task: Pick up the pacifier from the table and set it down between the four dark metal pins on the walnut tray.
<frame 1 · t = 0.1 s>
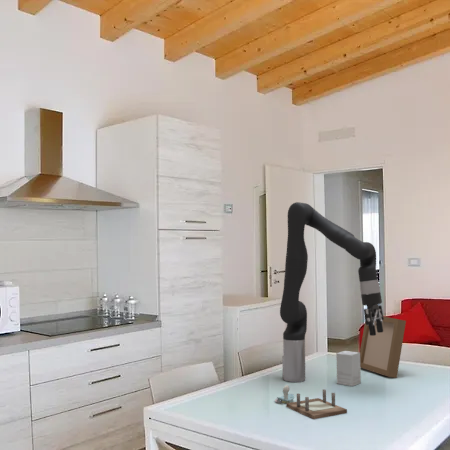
hand: (376, 333, 214), 22 cm above the table, tool pointing down, fingers open, 8 cm apart
pin tray: (316, 409, 191), on the table
pacifier: (283, 402, 201), on the table
photo frame: (385, 372, 247), on the table
supplement box: (348, 384, 227), on the table
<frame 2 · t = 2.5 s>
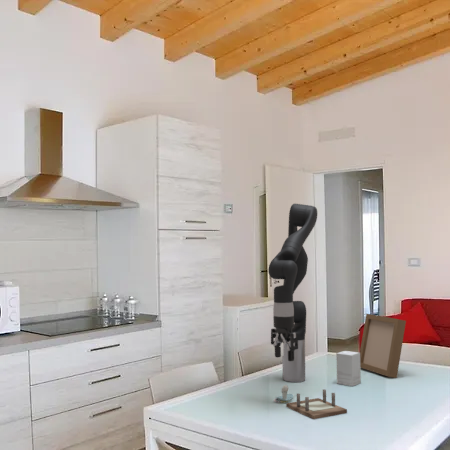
hand: (284, 359, 202), 15 cm above the table, tool pointing down, fingers open, 8 cm apart
nothing on the table moved.
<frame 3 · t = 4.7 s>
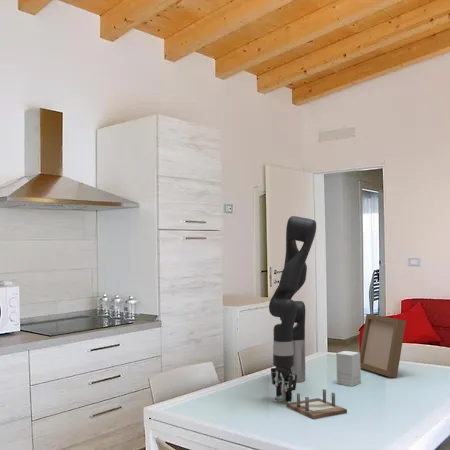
hand: (283, 399, 201), 1 cm above the table, tool pointing down, fingers closed on pacifier, 5 cm apart
pacifier: (282, 401, 202), on the table, touching gripper
everything else where it was.
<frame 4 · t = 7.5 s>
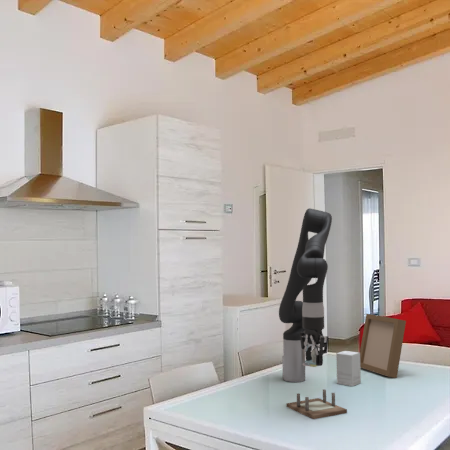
hand: (314, 363, 191), 16 cm above the table, tool pointing down, fingers closed on pacifier, 5 cm apart
pacifier: (312, 366, 192), point 15 cm above the table, touching gripper
everything else where it was.
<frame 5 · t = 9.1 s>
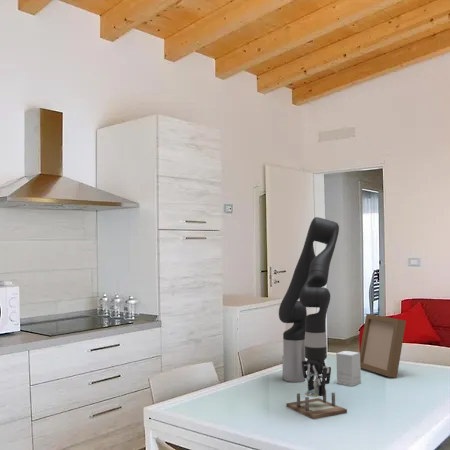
hand: (316, 393, 191), 6 cm above the table, tool pointing down, fingers closed on pacifier, 5 cm apart
pacifier: (314, 396, 191), point 5 cm above the table, touching gripper
everything else where it was.
when the fingers open (3 cm above the table, at t = 10.4 s): pacifier stays where it is, resting on pin tray.
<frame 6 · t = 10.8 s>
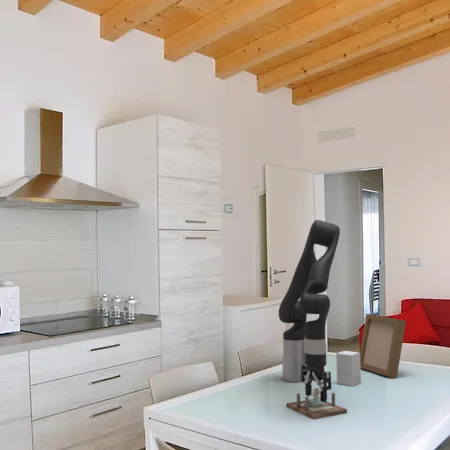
hand: (315, 398, 191), 4 cm above the table, tool pointing down, fingers open, 8 cm apart
pacifier: (313, 405, 191), point 1 cm above the table, touching pin tray
everything else where it was.
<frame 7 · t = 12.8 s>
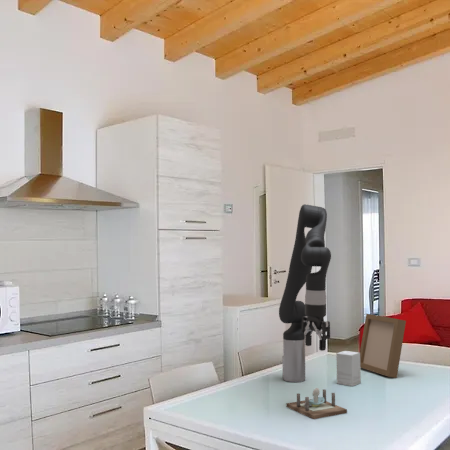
hand: (315, 347, 197), 20 cm above the table, tool pointing down, fingers open, 8 cm apart
nothing on the table moved.
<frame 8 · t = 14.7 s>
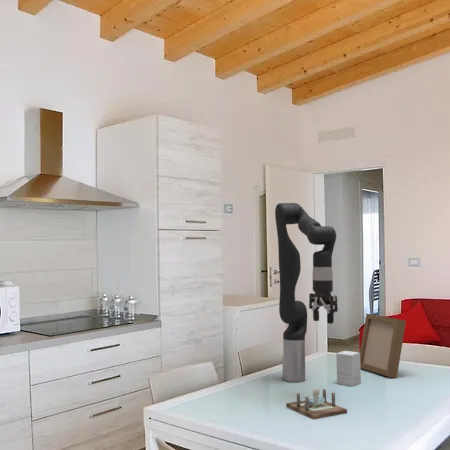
hand: (323, 322, 207), 28 cm above the table, tool pointing down, fingers open, 8 cm apart
nothing on the table moved.
at the end: pacifier 0.9 cm off-centre on the pin tray, point 1.2 cm above the pin tray's base; pacifier touching pin tray; the gripper is holding nothing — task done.
